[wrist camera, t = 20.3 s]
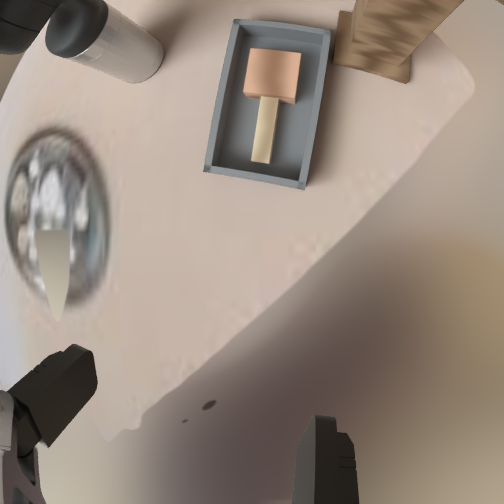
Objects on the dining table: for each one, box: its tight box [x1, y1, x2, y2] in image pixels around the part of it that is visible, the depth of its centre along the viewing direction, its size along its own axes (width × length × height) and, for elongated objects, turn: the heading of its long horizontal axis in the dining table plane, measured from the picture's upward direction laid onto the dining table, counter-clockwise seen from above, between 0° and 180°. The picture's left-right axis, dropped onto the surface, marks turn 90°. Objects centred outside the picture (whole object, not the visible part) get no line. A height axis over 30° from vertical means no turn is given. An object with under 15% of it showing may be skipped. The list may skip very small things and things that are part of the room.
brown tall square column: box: [333, 0, 504, 84], centre depth 20 cm, size 12×12×32 cm
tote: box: [203, 19, 331, 190], centre depth 38 cm, size 14×24×5 cm, turn 170°
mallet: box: [243, 48, 301, 164], centre depth 38 cm, size 7×16×4 cm, turn 171°
